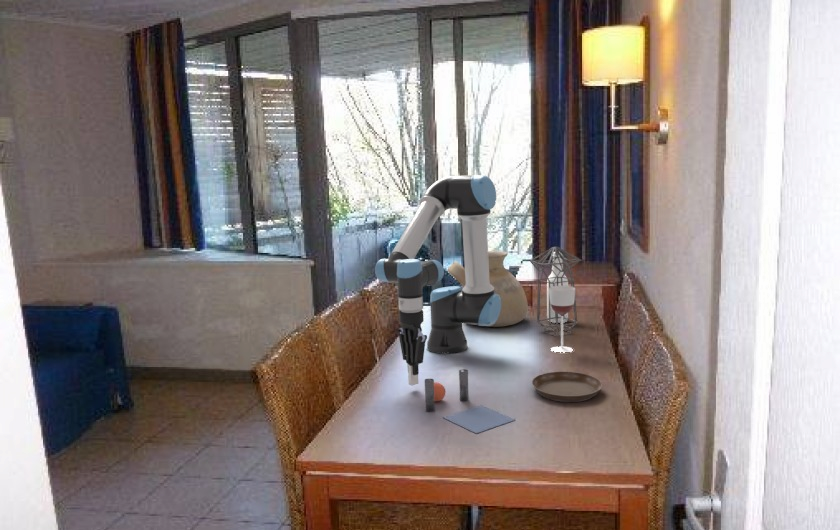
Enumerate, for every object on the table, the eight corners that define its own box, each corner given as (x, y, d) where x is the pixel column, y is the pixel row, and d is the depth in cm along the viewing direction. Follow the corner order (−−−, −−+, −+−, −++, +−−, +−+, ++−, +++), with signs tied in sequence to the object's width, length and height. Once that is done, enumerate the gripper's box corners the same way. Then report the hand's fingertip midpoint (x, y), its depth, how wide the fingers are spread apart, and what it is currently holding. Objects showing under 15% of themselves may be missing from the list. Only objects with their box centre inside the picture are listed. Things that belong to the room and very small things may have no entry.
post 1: (423, 410, 192) (422, 379, 190) (431, 407, 193) (430, 377, 192) (429, 412, 190) (428, 382, 188) (436, 410, 191) (435, 380, 190)
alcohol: (546, 318, 292) (546, 250, 287) (567, 318, 291) (567, 250, 286) (547, 323, 283) (547, 253, 279) (568, 323, 282) (568, 253, 277)
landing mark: (443, 418, 185) (443, 417, 185) (481, 405, 193) (481, 405, 193) (476, 433, 174) (476, 433, 174) (515, 420, 182) (515, 419, 182)
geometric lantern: (552, 340, 259) (549, 250, 254) (530, 332, 273) (527, 247, 268) (585, 334, 265) (584, 246, 260) (562, 326, 279) (560, 243, 274)
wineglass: (576, 346, 249) (576, 285, 245) (573, 354, 240) (573, 291, 236) (551, 345, 252) (551, 285, 248) (547, 352, 243) (547, 290, 239)
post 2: (458, 399, 199) (457, 370, 197) (464, 397, 200) (464, 368, 199) (463, 402, 197) (462, 372, 195) (470, 400, 198) (469, 370, 197)
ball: (430, 407, 196) (421, 393, 200) (445, 402, 200) (435, 389, 203) (436, 394, 193) (426, 380, 197) (451, 390, 197) (441, 377, 200)
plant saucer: (598, 408, 189) (598, 397, 189) (525, 401, 197) (525, 390, 196) (604, 384, 208) (605, 374, 208) (538, 379, 216) (538, 369, 215)
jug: (532, 329, 276) (532, 257, 271) (450, 331, 276) (448, 259, 271) (523, 313, 304) (522, 247, 299) (448, 315, 305) (446, 250, 300)
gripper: (389, 308, 208) (392, 381, 211) (413, 315, 197) (415, 392, 201) (408, 304, 212) (411, 376, 216) (433, 311, 201) (435, 386, 205)
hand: (413, 383), depth 208 cm, fingers closed
